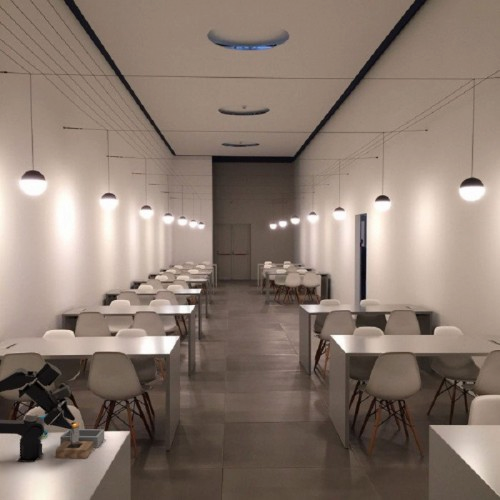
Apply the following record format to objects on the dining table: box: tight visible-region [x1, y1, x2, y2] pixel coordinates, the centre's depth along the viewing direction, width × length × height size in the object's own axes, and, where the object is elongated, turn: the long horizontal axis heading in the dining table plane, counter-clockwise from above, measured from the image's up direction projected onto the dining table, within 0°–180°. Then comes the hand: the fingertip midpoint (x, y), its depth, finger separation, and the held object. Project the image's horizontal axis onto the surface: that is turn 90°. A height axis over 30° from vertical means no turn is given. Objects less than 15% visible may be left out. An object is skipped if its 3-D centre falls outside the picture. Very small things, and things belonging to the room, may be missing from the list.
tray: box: [59, 428, 105, 449], centre depth 197 cm, size 14×8×4 cm, turn 88°
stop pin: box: [69, 421, 80, 448], centre depth 188 cm, size 3×3×11 cm
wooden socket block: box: [54, 441, 95, 459], centre depth 188 cm, size 11×8×3 cm
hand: (73, 423), depth 188 cm, fingers open, 9 cm apart
